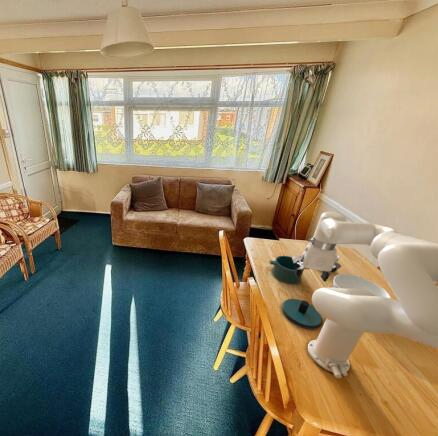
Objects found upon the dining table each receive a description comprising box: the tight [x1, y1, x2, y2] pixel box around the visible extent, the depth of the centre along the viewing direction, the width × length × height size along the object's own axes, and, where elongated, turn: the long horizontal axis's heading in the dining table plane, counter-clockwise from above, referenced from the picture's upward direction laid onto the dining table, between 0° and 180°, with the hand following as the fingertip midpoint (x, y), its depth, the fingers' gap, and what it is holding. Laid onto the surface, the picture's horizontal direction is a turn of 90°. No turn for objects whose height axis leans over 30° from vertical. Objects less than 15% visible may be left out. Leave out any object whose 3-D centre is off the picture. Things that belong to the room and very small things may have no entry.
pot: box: [269, 255, 308, 285], centre depth 125 cm, size 14×19×8 cm
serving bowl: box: [332, 273, 392, 299], centre depth 109 cm, size 21×21×7 cm
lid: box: [282, 298, 323, 326], centre depth 101 cm, size 15×15×6 cm
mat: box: [281, 306, 323, 330], centre depth 102 cm, size 15×15×1 cm
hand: (309, 277), depth 96 cm, fingers open, 9 cm apart
